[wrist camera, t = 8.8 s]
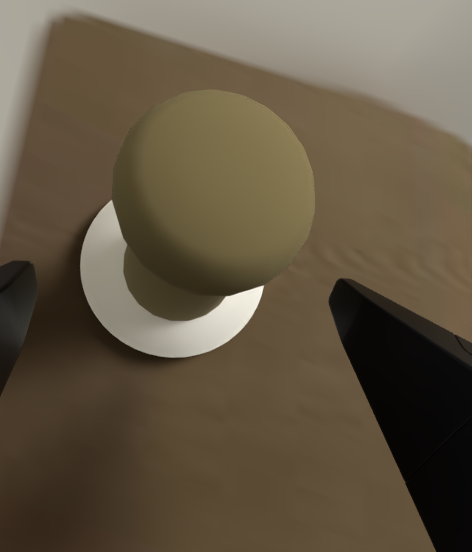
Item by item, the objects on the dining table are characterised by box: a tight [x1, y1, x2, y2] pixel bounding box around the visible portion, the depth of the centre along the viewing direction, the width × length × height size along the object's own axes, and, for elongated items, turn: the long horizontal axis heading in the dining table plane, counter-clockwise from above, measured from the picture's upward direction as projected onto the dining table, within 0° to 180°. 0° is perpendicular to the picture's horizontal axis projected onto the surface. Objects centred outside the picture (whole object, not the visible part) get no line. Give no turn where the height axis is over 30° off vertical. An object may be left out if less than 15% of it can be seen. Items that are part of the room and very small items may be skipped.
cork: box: [112, 89, 315, 321], centre depth 12 cm, size 6×6×11 cm
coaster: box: [80, 200, 264, 358], centre depth 18 cm, size 10×10×1 cm
